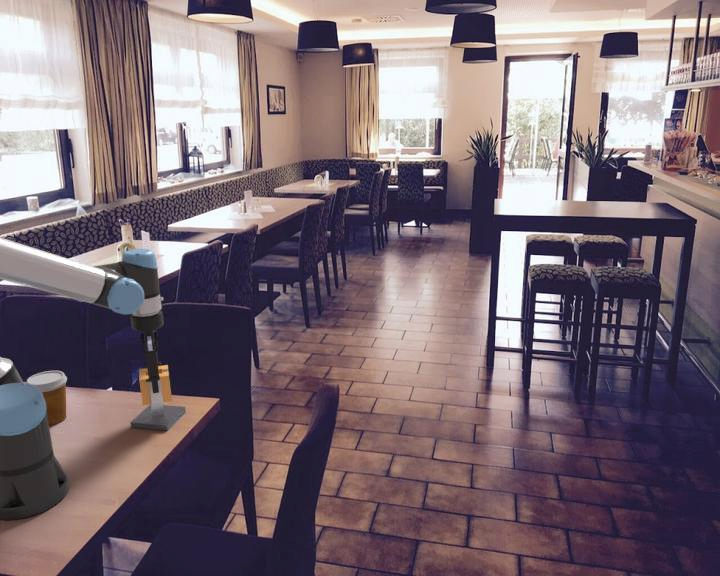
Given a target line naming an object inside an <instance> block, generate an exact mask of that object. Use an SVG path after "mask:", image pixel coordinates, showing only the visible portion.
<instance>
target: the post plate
mask: <svg viewBox="0 0 720 576" xmlns="http://www.w3.org/2000/svg"><path fill="white" fill-rule="evenodd" d="M186 412H187V410H186V406H180V405H179V406H178V405H167V404H164V402H163V403H159V404H153V405H152V404H150V405H147V407H146V408H144V409H143V410H142V411H141V412H140V413H139V414H138V415H136V417H135V418H133V419H132V420H131V421H130V428H131V429H144V430H155V431H167V432H168V431H169V430H170V429H171V428H172V427H173V426H174V425H175V424H176V423H177V422H178V421H179V420H180V419H181V417H183V416H184V414H186Z"/></svg>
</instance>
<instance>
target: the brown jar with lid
mask: <svg viewBox="0 0 720 576" xmlns="http://www.w3.org/2000/svg"><path fill="white" fill-rule="evenodd" d="M67 381H68V377H67V376H66V374H65V373H64V372H63V371H61V370H48V371H46V370H45V371H43V372H38V373H36V374H35V373H34V374H33V375H31V376H29V377H28V378H27V379H26V384H31V385H34V386H36V387H37V388H38V389H40V391H41V392H42V394H43V397H44V399H45V402H46V407H47V410H46V412H47V418H48V423H49V426H53V425H57V424H60V423H62V422H64V421H65V420H66V419H67V385H66V383H67Z"/></svg>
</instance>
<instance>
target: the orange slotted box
mask: <svg viewBox="0 0 720 576" xmlns="http://www.w3.org/2000/svg"><path fill="white" fill-rule="evenodd" d="M158 370H159V376H160V381H161V389H162V397H163V403H165V402H166V403H167V402H172V401H173V398H172V390H171V381H170V372H169V365H168V364H165V365H158ZM138 377H139V386H140V387H139V388H140V396H141V402H142V407H143V406H149V405H150V404H152V402H151V394H150V387H149V382H146V379H148V378H149V377H148V369H147V367H144V368H139V369H138Z"/></svg>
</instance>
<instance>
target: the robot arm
mask: <svg viewBox="0 0 720 576" xmlns="http://www.w3.org/2000/svg"><path fill="white" fill-rule="evenodd" d="M121 256H122V257H121V261H118V262H111V263H106V264H105V263H104V264H99V265H95V266H94V265H93V266H92V265H89V264H86V263H83V262H80V261H76V260H73V259H70V258H67V257H63V256H61V255H58V254H54V253H51V252H47V251H45V250H41V249H39V248H36V247H33V246H29V245H26V244H23V243H19V242H16V241H14V240H11V239H7V238H4V237H0V280H2V281H7V282H10V283H13V284H18V285H21V286H25V287H28V288H29V287H30V288H32V289H35V290H40V291H44V292H47V293H51V294H54V295H55V294H56V295H59V296H62V297H66V298H71V299H73V300H75V301H77V302H80V303H84V302H85V303H89V304H92V305H94V306H99V307H103V308H107V309H109V310H111V311H112V312H113V313H117V314H121V315H130V324H131V329H132V330H134V331H136V332H141V333H140V342H141V344H142V350H143V354H144V355H145V360H146V368H147V369H148V377H149V378H148V379H146V382H149V387H150V394H151V402H152V405H153V404H159V403H163V404H164V402H163V397H162V389H161V381H160V376H159V370H158V366H162V361H161V360H160V361H159V357H158V352H159V343H158V342H159V335H158V334H159V333H158V331H157V330H159V329H161V328H162V326H164V324H165V323H164V315H163V313H164V312H163V311H162V308H163V306H162V302H163V301H164V297H163V296H161V291H160V284H159V283H160V282H159V281H160V280H159V274H158V273H159V272H158V269H159V267H158V264H157V258H156V254H155V252H154V251H153V250H151V249H149V248H133V249H129V250H125V251H124V252H123V253H122V254H121ZM46 410H47V407H46V402H45V399H44V397H43V394H42V392H41V391H40V389H38V388H37V387H36V386H34V385H31V384H27V383H25V382H24V381H23V379H22V377H21V375H20V374H19V372H18V370H17V368H16V366H15V365H14V362H13V361H12V360H11V359H10V358H6V357H1V356H0V520H2V521H3V520H4V521H12V520H13V521H14V520H21V519H25V518H30V517H33V516H35V515H38V514H41V513H43V512H45V511H47V510H49V509H51V508H53V507H54V506H56V505H57V504H59V503H60V502H61V501H62V500H63V499H64V498H65V497H64V496H67V493H68V492H69V490H70V484H69V478H68V477H69V476H68V474H67V473H66V472H65V470H64V468H63V466H62V465H61V463H60V462H59V461H58V459H57V458H56V456H55V452H54V447H53V446H54V445H53V441H52V436H51V431H50V430H51V429H50V425H49V423H48V418H47V412H46ZM63 497H64V498H63ZM62 498H63V499H62ZM61 499H62V500H61ZM60 500H61V501H60ZM59 501H60V502H59ZM55 504H56V505H55ZM52 506H53V507H52Z"/></svg>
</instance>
